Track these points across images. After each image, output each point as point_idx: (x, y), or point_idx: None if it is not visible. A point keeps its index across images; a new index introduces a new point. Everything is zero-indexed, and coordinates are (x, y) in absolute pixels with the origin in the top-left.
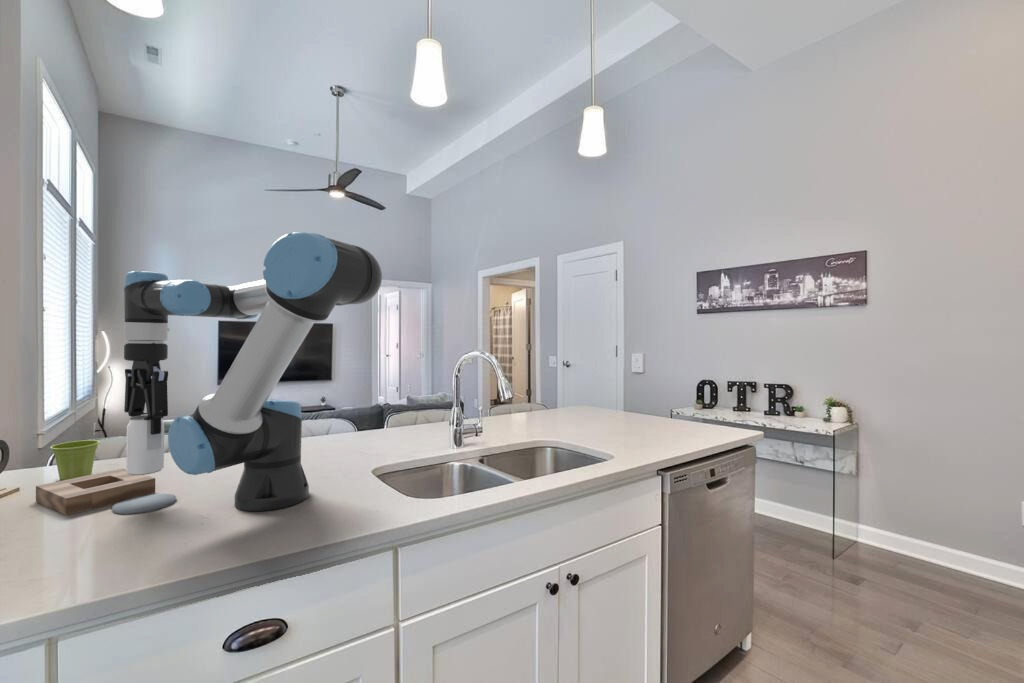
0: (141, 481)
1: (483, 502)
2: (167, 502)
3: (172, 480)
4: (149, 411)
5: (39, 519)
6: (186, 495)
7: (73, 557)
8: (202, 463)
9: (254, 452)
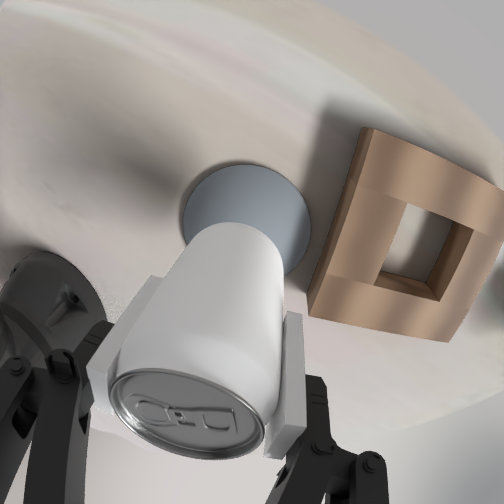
0: (319, 288)
1: None
2: (190, 240)
3: (345, 358)
4: (47, 401)
5: (391, 96)
6: None
7: (102, 12)
8: None
9: None
